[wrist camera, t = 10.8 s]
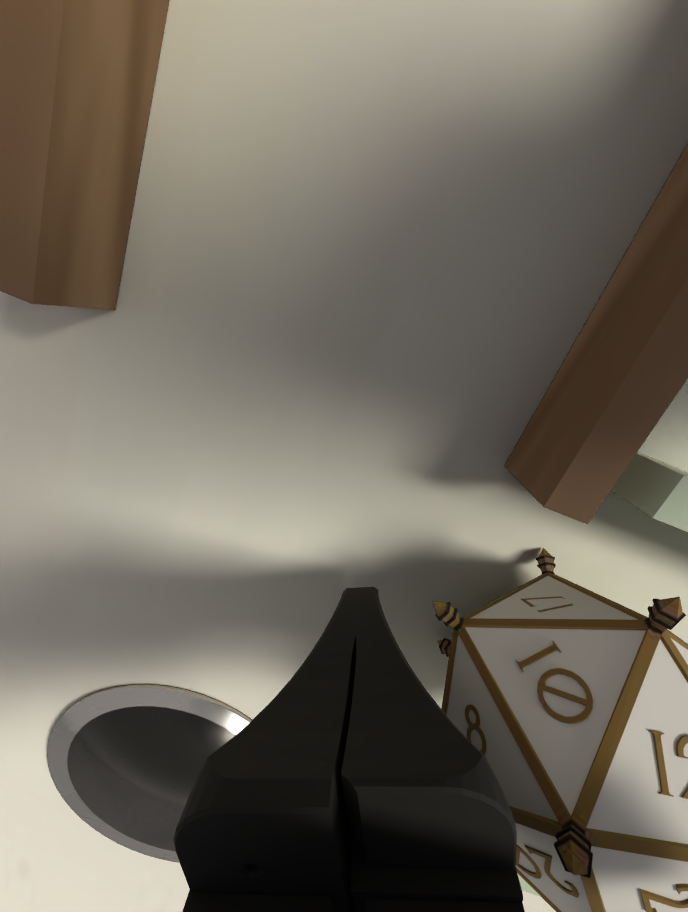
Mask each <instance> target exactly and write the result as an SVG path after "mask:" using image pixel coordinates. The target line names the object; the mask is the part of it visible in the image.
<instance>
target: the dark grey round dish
mask: <svg viewBox="0 0 688 912" xmlns="http://www.w3.org/2000/svg"><path fill="white" fill-rule="evenodd" d="M251 721H252V720H251V719H250V718H248V717H247V716H245V715H244V714H242V713H241V712H239V711H238V710H236V709H234V708H232V707H230V706H228V705H226V704H224V703H223V702H220V701H218V700H215V699H213V698H210V697H208V696H206V695H203V694H199V693H196V692H193V691H189V690H186V689H180V688H175V687H170V686H162V685H152V684H134V685H125V686H117V687H113V688H109V689H104V690H101V691H98V692H96V693H93V694H91V695H88V696H87V697H85V698H83V699H81V700H80V701H78V702H76V703H75V704H74V705H73V706H72V707H70V708H69V709H68V710H67V711H66V712H65V713H64V715H63V716H62V717H61V718H60V719H59V721H58V722H57V723H56V725H55V727H54V729H53V730H52V732H51V735H50V738H49V742H48V749H47V760H48V767H49V771H50V774H51V777H52V780H53V782H54V784H55V786H56V788H57V790H58V791H59V793H60V794H61V796H62V798H63V799H64V800H65V802H66V803H67V804H68V805H69V806H70V808H71V809H72V810H73V811H74V812H75V813H76V814H77V815H78V816H79V817H80V818H81V819H82V820H84V821H85V822H86V823H87V824H88V825H90V826H91V827H92V828H94V829H95V830H97V831H98V832H99V833H101V834H102V835H104V836H106V837H107V838H109V839H111V840H113V841H115V842H116V843H118V844H120V845H123V846H125V847H127V848H129V849H131V850H134V851H137V852H139V853H142V854H145V855H148V856H151V857H155V858H159V859H163V860H168V861H173V862H179V859H178V856H177V854H176V851H175V845H174V840H173V839H174V835H175V831H176V828H177V825H178V822H179V820H180V817H181V815H182V812H183V810H184V807H185V805H186V802H187V800H188V797H189V794H190V792H191V789H192V787H193V785H194V783H195V781H196V779H197V777H198V775H199V773H200V771H201V769H202V767H203V765H204V763H205V761H206V760H207V758H208V757H209V756H210V755H211V754H213V753H214V752H215V751H217V750H218V749H219V748H220V747H222V746H223V745H224V744H225V743H226V742H228V741H229V740H230V739H231V738H233V737H234V736H235V735H236V734H238V733H239V732H240V731H241V730H242V729H243V728H244V727H246V726H247V725H248V724H249V723H250V722H251ZM179 863H180V862H179Z"/></svg>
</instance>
